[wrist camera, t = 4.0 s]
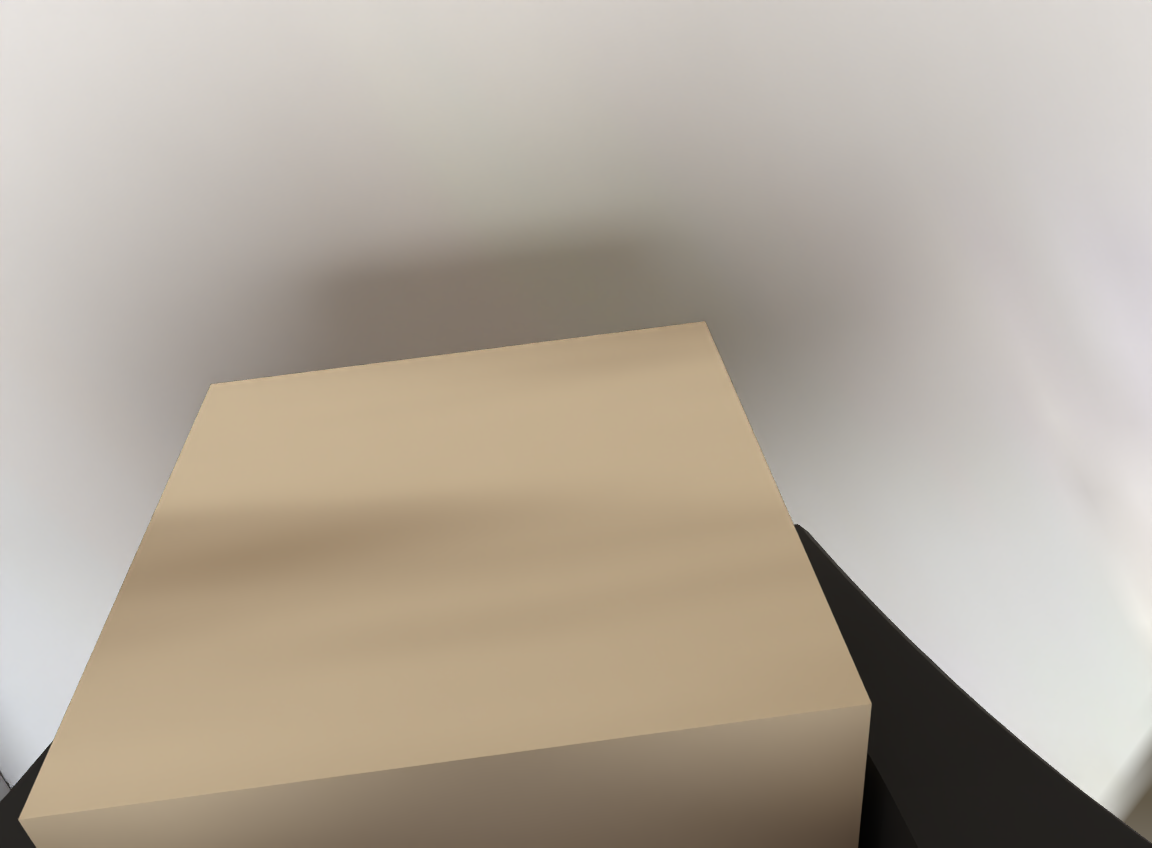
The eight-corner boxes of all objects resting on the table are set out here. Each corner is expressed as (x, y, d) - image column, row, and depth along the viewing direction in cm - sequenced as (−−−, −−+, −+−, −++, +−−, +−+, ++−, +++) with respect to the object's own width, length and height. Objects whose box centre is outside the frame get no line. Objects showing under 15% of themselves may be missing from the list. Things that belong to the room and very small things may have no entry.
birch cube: (715, 666, 13) (833, 1098, 9) (327, 719, 13) (255, 1181, 8) (704, 321, 10) (872, 705, 6) (210, 384, 10) (17, 819, 6)
